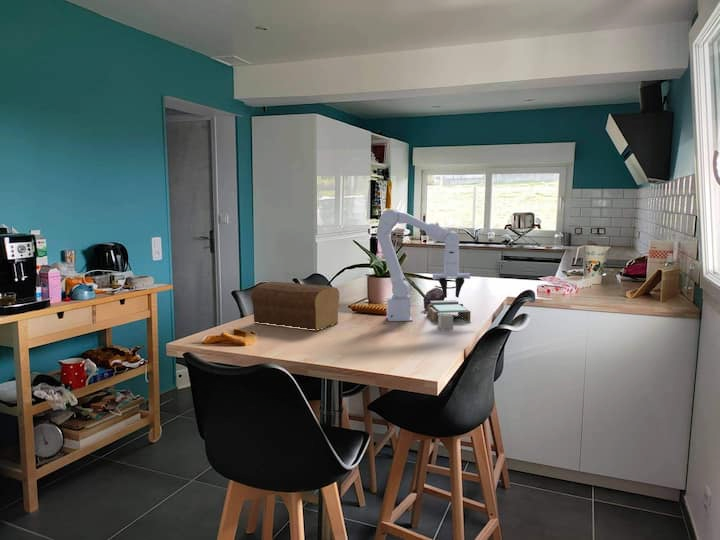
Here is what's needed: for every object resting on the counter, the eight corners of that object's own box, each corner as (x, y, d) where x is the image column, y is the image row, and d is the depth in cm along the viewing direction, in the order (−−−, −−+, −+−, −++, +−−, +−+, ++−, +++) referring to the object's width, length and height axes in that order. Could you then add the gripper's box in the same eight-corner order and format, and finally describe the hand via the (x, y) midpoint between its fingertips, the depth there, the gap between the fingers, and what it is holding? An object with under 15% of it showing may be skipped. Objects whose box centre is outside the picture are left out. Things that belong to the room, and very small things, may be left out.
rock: (420, 312, 235) (443, 313, 232) (419, 294, 233) (442, 294, 230) (426, 304, 246) (448, 304, 242) (425, 286, 244) (447, 286, 240)
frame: (426, 315, 224) (427, 303, 224) (461, 314, 225) (461, 302, 225) (434, 322, 210) (434, 310, 210) (470, 321, 212) (470, 309, 211)
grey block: (440, 329, 199) (441, 316, 198) (438, 327, 203) (438, 313, 203) (453, 329, 199) (453, 316, 199) (449, 326, 204) (450, 313, 203)
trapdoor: (430, 306, 226) (430, 300, 226) (455, 305, 227) (455, 300, 227) (439, 314, 209) (439, 308, 209) (467, 314, 210) (467, 308, 210)
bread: (279, 316, 226) (278, 278, 224) (340, 323, 212) (340, 282, 210) (250, 324, 210) (249, 283, 208) (315, 333, 196) (314, 289, 194)
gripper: (435, 264, 206) (435, 299, 208) (472, 263, 207) (472, 298, 209) (431, 262, 213) (431, 296, 215) (467, 261, 214) (467, 295, 216)
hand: (451, 297), depth 212 cm, fingers open, 4 cm apart
